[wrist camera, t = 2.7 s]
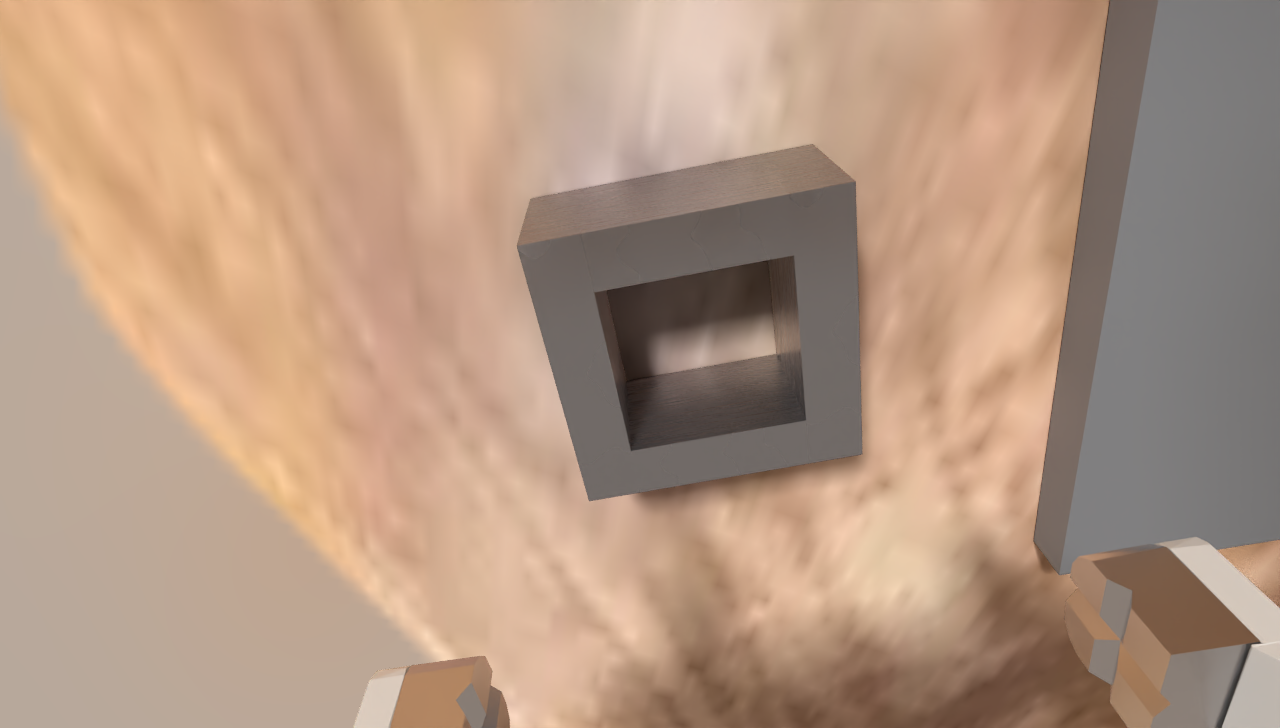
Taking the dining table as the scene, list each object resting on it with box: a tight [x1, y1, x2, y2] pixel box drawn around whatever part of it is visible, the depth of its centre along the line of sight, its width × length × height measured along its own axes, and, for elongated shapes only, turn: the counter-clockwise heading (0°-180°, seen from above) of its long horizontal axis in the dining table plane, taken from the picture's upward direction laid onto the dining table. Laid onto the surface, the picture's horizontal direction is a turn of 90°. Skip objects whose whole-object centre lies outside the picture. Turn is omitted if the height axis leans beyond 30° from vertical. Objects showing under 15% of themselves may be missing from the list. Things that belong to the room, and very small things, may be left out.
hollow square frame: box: [517, 144, 862, 501], centre depth 17 cm, size 7×7×3 cm
